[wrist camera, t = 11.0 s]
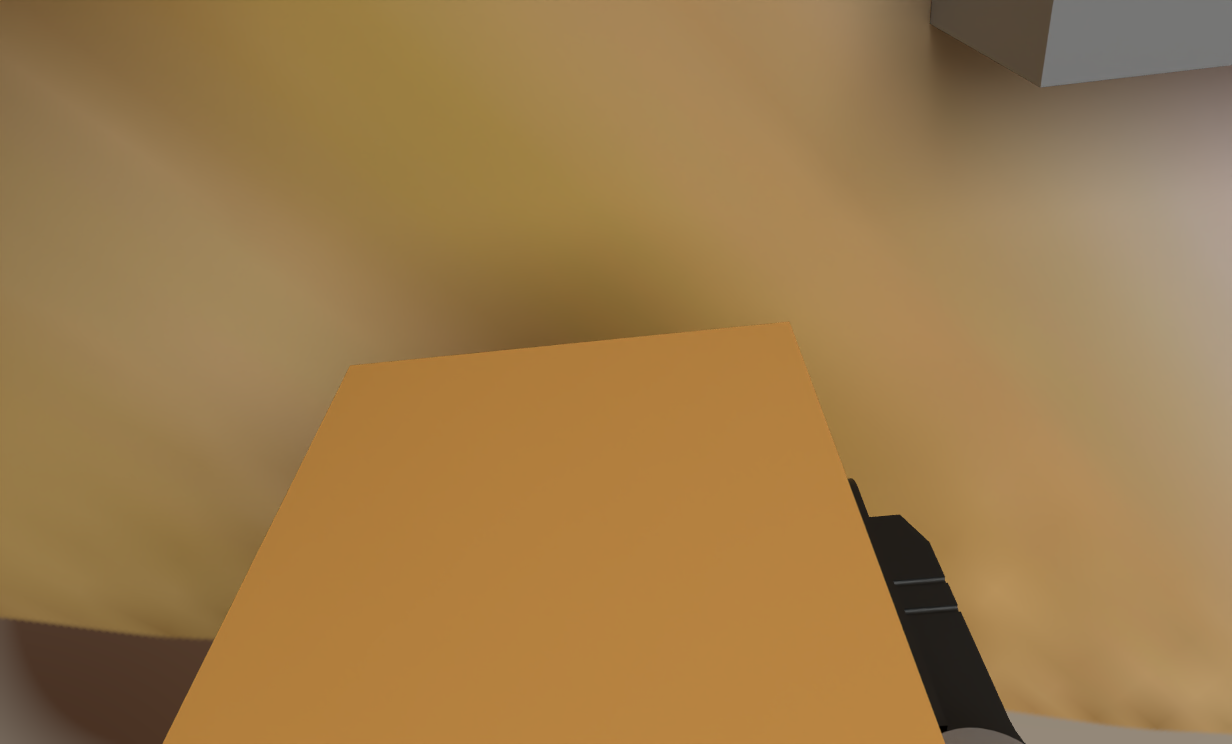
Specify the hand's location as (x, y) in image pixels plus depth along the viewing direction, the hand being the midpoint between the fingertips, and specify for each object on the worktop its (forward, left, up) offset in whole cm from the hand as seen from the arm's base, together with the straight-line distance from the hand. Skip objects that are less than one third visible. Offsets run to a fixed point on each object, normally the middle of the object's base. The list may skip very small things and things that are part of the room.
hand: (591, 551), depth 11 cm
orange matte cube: (0, 0, -1) cm, 1 cm away
